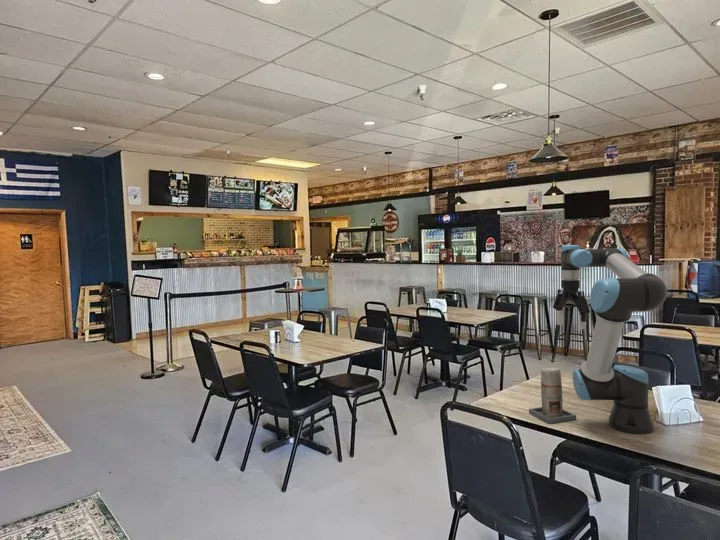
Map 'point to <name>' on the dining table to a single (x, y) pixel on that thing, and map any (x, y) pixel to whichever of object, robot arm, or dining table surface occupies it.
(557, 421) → the tray
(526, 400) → the dining table surface
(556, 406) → the spray can
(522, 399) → the dining table surface
